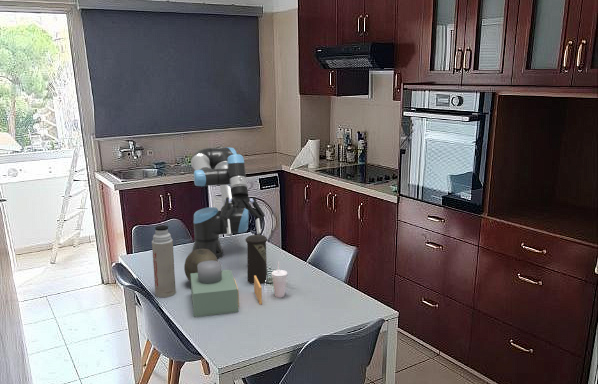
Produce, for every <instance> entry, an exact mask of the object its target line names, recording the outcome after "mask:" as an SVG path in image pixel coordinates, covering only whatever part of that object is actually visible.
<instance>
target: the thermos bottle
mask: <svg viewBox="0 0 598 384" xmlns="http://www.w3.org/2000/svg"><path fill="white" fill-rule="evenodd" d="M154 229H155V231H154V232H155V233H154V234H153V235H152V236H153V237H152V240H151V248H152V249H151V250H152V262H153V278H154V279H153V281H154V291H155V292H154V294H155V296H156V297H159V298H168V297H172V296H174V295H176V293H177V288H176V274H175V273H176V272H175V256H174V239H173V238H172V236H171V233H170V232H169V226H168V225H166V224H165V225H157V226H155V228H154Z"/></svg>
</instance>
